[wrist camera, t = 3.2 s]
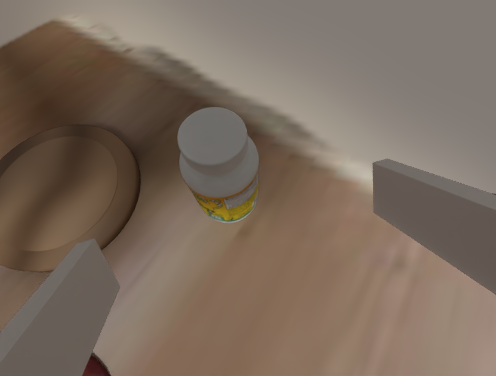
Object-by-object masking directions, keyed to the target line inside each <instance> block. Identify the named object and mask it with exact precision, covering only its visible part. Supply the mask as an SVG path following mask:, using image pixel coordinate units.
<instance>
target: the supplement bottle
mask: <svg viewBox="0 0 496 376" xmlns="http://www.w3.org/2000/svg"><path fill="white" fill-rule="evenodd" d="M177 141H178V146H179V149H180V151H181V153H180V159H179V166H180V171H181V174H182V177H183V179H184V181H185V183H186V184H187V185H188V187H189V189H190V190H191V192H192V193H193V195H194V197H195V198H196V200H197V201H198V203H199V205H200V206H201V208H202V209H203V211H204V212H205V213H206V214H207V215H208V216H209V217H211V218H212V219H214V220H217V221H220V222H224V223H233V222H237V221H240V220H242V219H244V218H245V217H247V216H248V215H249V214H250V213H251V212H252V210H253V209H254V207H255V205H256V203H257V199H258V178H259V156H258V151H257V148H256V146H255V144H254V142H253V141H252V139H251V138H250V137H249V136H248V135H247V129H246V126H245V123H244V122H243V120H242V119H241V118H240V117H239V116H238V115H237V114H236V113H234V112H233V111H231V110H229V109H226V108H221V107H208V108H204V109H200V110H198V111H196V112H194V113H192V114H191V115H189V116H188V117H187V118H186V119H185V120H184V121H183V123H182V124H181V126H180V128H179V130H178V135H177Z"/></svg>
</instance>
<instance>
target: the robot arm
mask: <svg viewBox="0 0 496 376" xmlns="http://www.w3.org/2000/svg"><path fill="white" fill-rule="evenodd" d="M373 204H374V213H375V214H377V215H378V216H380V217H381V218H383V219H384V220H386V221H387V222H389V223H390V224H392V225H393V226H395V227H396V228H397V229H399V230H400V231H402V232H403V233H405V234H406V235H408V236H409V237H411V238H412V239H414V240H415V241H417V242H418V243H420V244H421V245H423V246H424V247H426V248H427V249H429V250H430V251H432V252H433V253H435V254H436V255H438V256H439V257H441V258H442V259H444V260H445V261H447V262H448V263H450V264H451V265H453V266H454V267H456V268H457V269H458V270H460V271H461V272H463V273H464V274H466V275H467V276H469V277H470V278H472V279H473V280H475V281H476V282H478V283H479V284H481V285H482V286H484V287H485V288H487V289H488V290H490V291H491V292H493V293H494V294H496V194H493V193H489V192H486V191H483V190H479V189H477V188H474V187H471V186H468V185H465V184H462V183H459V182H456V181H453V180H450V179H446V178H444V177H441V176H437V175H435V174H431V173H429V172H426V171H423V170H419V169H417V168H414V167H411V166H407V165H404V164H402V163H399V162H396V161H393V160H390V159H385V160H381V161H377V162H374V163H373ZM119 288H120V285H119V283H118V281H117V279H116V277H115V275H114V273H113V272H112V270H111V268H110V266H109V264H108V262H107V261H106V259H105V257H104V255H103V253H102V251H101V249H100V248H99V246H98V244H97V242H96V240H95V239H91V240H87V241H84V242H80V243H77V244H76V245H75V246H74V247H73V248H72V249H71V251H70V252H69V253H68V254H67V255H66V256H65V258H64V259H63V260H62V261H61V262H60V263H59V265H58V266H57V267H56V268H55V269H54V270H53V272H52V273H51V274H50V275H49V276H48V277H47V279H46V280H45V281H44V282H43V283H42V284H41V286H40V287H39V288H38V289H37V290H36V291H35V293H34V294H33V295H32V296H31V297H30V298H29V300H28V301H27V302H26V303H25V304H24V305H23V307H22V308H21V309H20V310H19V311H18V313H17V314H16V315H15V316H14V317H13V318H12V320H11V321H10V322H9V323H8V324H7V325H6V327H5V328H4V329H3V330H2V331H1V332H0V376H82V375H83V372H84V370H85V368H86V365H87V363H88V361H89V358H90V356H91V354H92V351H93V349H94V347H95V344H96V342H97V340H98V337H99V335H100V333H101V330H102V328H103V326H104V323H105V321H106V319H107V316H108V314H109V312H110V309H111V307H112V305H113V302H114V300H115V298H116V295H117V293H118V291H119Z"/></svg>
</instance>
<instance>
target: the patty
mask: <svg viewBox="0 0 496 376" xmlns="http://www.w3.org/2000/svg"><path fill="white" fill-rule="evenodd" d="M82 376H110V375H109V374H108V372H107V371H106V369H105V368H104V367H103V366H102V365H101V364H100V363H99V362H98V361H97V360H96V359H95V358H94V357H93V356H90V358H89V361H88V363H87V365H86V368H85V370H84V372H83V375H82Z"/></svg>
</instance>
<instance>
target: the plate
mask: <svg viewBox="0 0 496 376" xmlns="http://www.w3.org/2000/svg"><path fill="white" fill-rule="evenodd" d="M140 183H141V182H140V171H139V167H138V164H137V161H136V159H135V157H134V156H133V154H132V152H131V151H130V150H129V149H128V148H127V146H126V145H125V144H124V143H123V142H122V141H121V140H120V139H119V138H118V137H117V136H115V135H114V134H112V133H111V132H109V131H107V130H104V129H102V128H99V127H95V126H89V125H67V126H61V127H57V128H53V129H50V130H47V131H44V132H41V133H39V134H37V135H35V136H33V137H31V138H29V139H27V140H25V141H24V142H22V143H21V144H19V145H18V146H16V147H15V148H14V149H12V150H11V151H10V152H9V153H8V154H6V155H5V156H4V157H3V158H2V159H1V160H0V265H2V266H4V267H7V268H10V269H15V270H21V271H32V272H49V271H53V270H54V269H55V268H56V267H57V266H58V265H59V263H60V262H61V261H62V260H63V259H64V258H65V256H66V255H67V254H68V253H69V252H70V251H71V249H72V248H73V247H74V246H75V245H76V244H77V243H80V242H84V241H87V240H91V239H95V240H96V242H97V244H98V246H99V248H100V249H101V250H102V249H103V248H105V247H106V246H107V245H108V244H109V243H110V242H111V241H112V240H113V239H115V238H116V236H117V235H118V234H119V233H120V232H121V230H122V229H123V228H124V226H125V225H126V223H127V222H128V220H129V219H130V217H131V215H132V213H133V211H134V209H135V206H136V204H137V201H138V197H139V192H140Z"/></svg>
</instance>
